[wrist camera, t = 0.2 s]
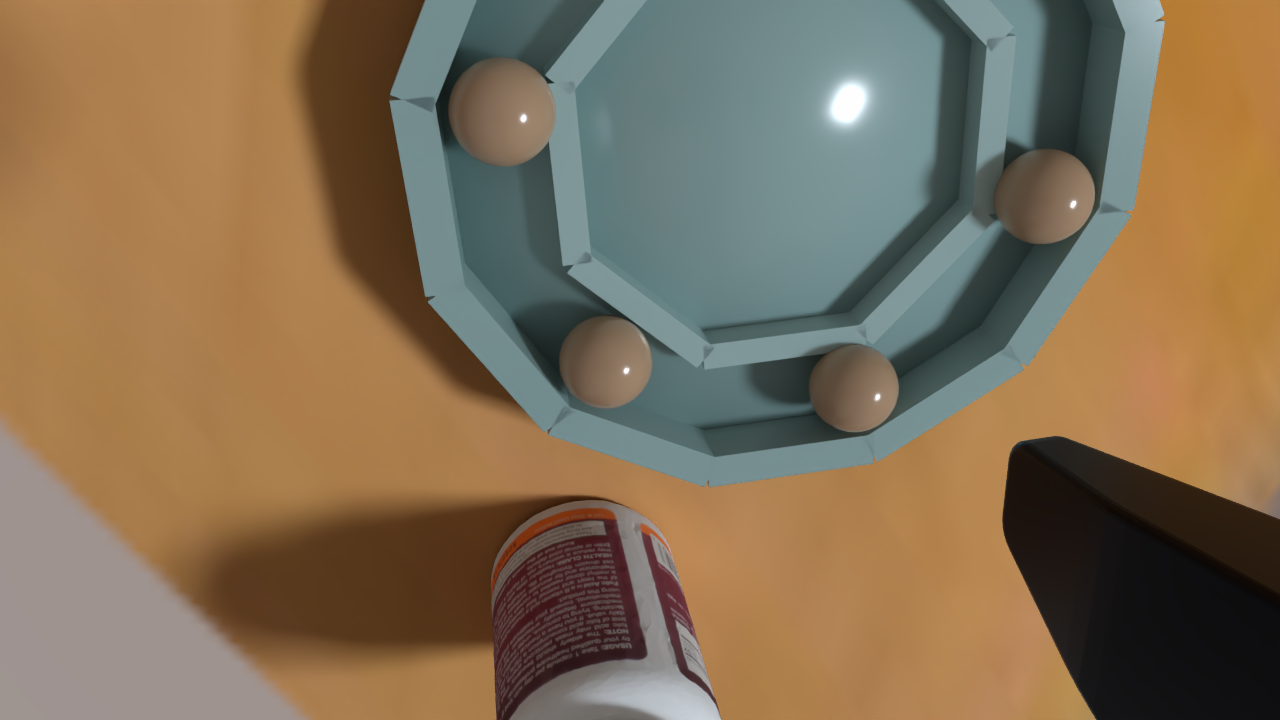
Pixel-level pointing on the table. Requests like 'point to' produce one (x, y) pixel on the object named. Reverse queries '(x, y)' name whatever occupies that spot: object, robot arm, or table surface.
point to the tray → (765, 209)
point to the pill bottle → (594, 621)
